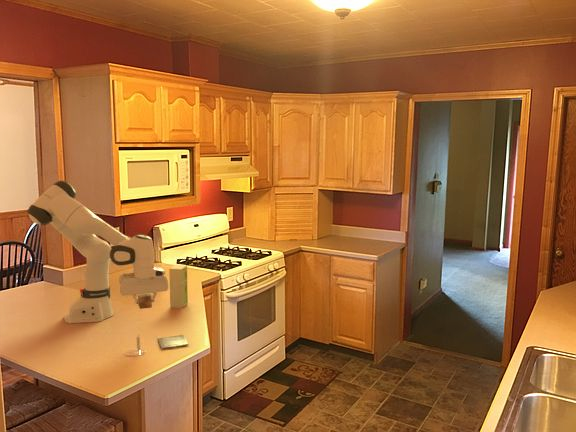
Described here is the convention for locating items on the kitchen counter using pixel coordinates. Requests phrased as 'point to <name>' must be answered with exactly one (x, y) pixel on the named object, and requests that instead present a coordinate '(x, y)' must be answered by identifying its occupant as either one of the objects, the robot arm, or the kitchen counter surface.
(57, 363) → the kitchen counter surface
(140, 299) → the cube
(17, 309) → the kitchen counter surface
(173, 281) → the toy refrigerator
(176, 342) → the trivet
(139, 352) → the unidentifiable
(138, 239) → the robot arm
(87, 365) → the kitchen counter surface
